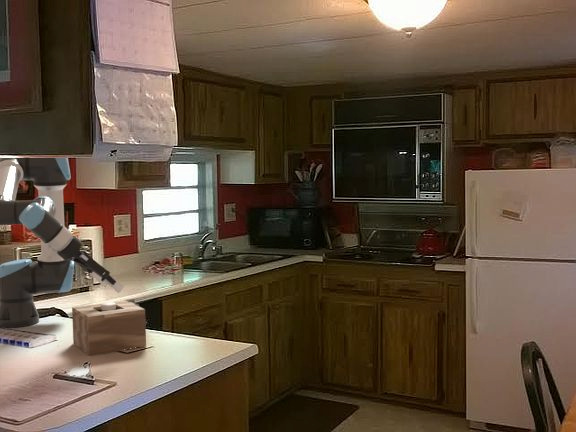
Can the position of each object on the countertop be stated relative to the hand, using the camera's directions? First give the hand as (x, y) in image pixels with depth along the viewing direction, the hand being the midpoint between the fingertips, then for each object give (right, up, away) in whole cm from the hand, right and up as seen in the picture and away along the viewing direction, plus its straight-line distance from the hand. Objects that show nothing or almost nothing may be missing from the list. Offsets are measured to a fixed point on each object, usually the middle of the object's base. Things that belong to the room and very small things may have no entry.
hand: (114, 286), depth 221 cm
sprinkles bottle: (-2, -19, +1) cm, 19 cm away
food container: (0, -18, +20) cm, 27 cm away
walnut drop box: (-2, -19, 0) cm, 19 cm away
